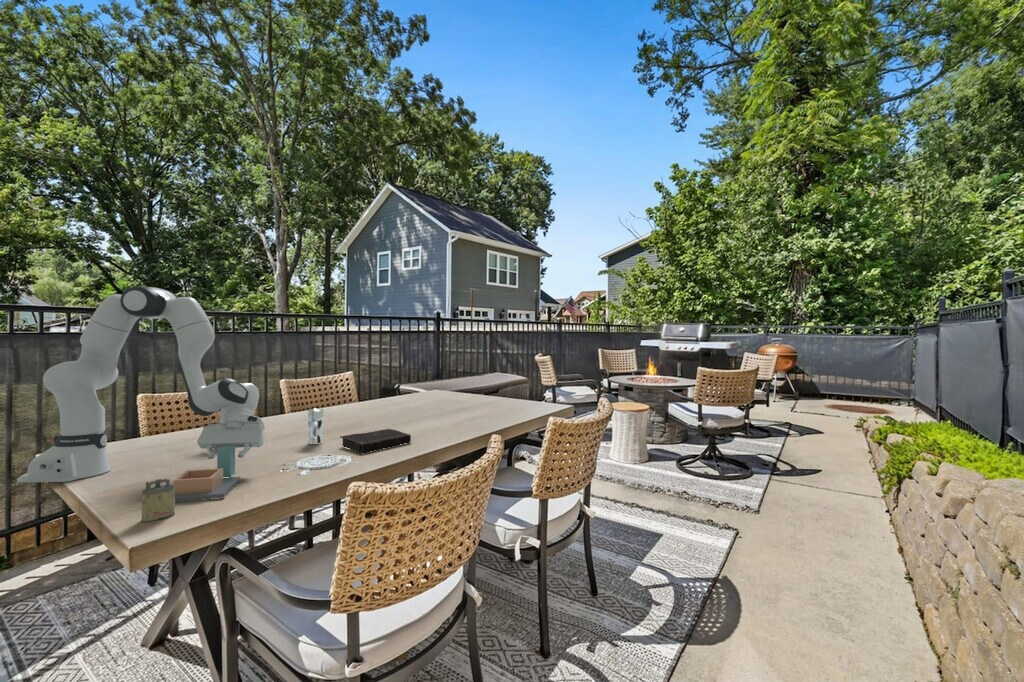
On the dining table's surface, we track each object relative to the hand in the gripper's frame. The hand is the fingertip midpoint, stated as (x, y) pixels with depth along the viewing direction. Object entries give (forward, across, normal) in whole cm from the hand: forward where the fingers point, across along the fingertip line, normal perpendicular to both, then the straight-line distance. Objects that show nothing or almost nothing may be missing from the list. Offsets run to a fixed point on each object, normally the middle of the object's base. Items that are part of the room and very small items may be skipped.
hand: (225, 457), depth 152 cm
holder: (+15, -2, -6) cm, 16 cm away
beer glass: (-27, +19, +36) cm, 49 cm away
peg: (+4, 0, +5) cm, 7 cm away
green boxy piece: (+29, -3, -19) cm, 35 cm away
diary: (-22, +46, +32) cm, 60 cm away
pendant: (-3, +27, +14) cm, 31 cm away
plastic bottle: (-26, -16, +36) cm, 47 cm away
